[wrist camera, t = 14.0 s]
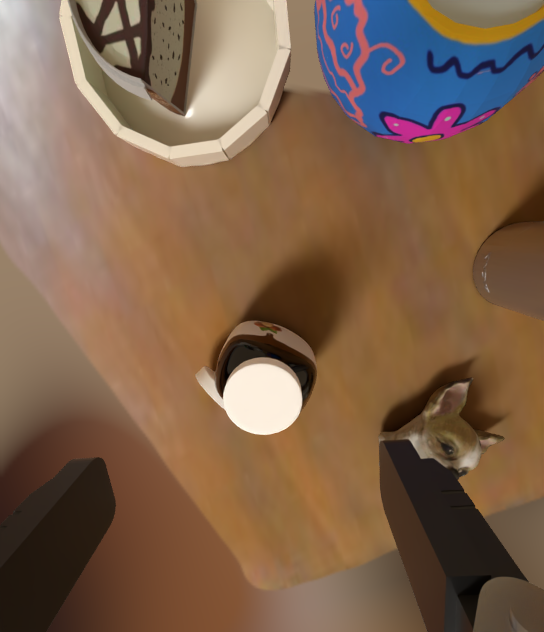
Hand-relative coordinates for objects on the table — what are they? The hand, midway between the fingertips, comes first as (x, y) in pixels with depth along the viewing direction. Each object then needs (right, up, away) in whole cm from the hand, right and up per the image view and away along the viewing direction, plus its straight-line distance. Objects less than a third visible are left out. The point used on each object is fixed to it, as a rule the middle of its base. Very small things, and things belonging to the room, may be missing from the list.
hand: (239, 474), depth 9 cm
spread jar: (-1, -1, +30) cm, 30 cm away
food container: (-10, +29, +21) cm, 38 cm away
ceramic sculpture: (+20, -9, +31) cm, 38 cm away
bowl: (-7, +30, +22) cm, 37 cm away
